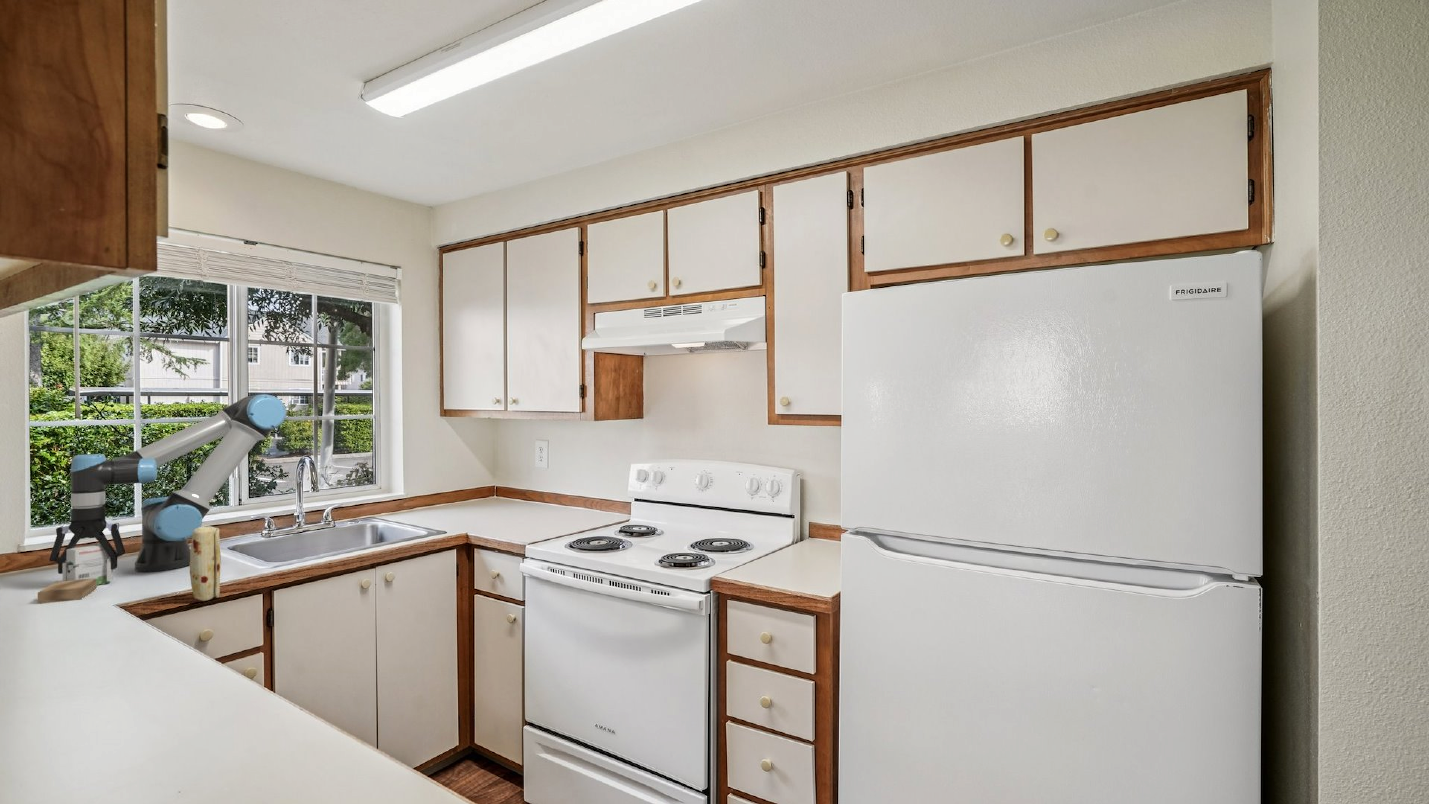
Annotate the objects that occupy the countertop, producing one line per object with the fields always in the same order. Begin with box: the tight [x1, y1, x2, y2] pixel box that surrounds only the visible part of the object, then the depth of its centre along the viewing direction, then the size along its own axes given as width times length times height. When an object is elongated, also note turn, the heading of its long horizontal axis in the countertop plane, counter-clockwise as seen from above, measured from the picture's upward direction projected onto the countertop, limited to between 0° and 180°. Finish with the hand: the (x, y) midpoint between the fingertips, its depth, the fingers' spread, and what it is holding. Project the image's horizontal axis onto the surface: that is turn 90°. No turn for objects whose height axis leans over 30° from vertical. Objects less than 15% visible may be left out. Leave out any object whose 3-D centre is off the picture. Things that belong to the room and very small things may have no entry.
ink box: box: [65, 543, 111, 586], centre depth 201 cm, size 9×5×12 cm, turn 158°
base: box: [37, 578, 98, 605], centre depth 190 cm, size 9×12×3 cm
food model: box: [189, 525, 222, 603], centre depth 186 cm, size 10×7×20 cm
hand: (88, 582), depth 201 cm, fingers closed on ink box, 9 cm apart
